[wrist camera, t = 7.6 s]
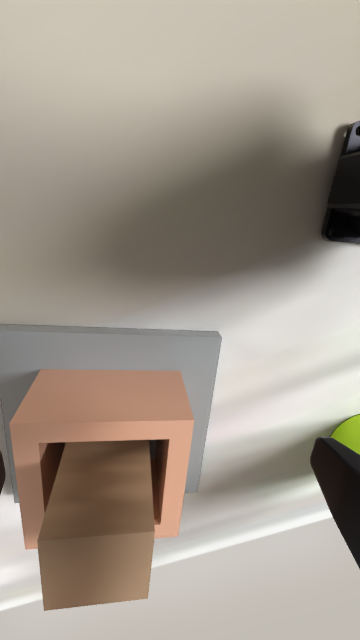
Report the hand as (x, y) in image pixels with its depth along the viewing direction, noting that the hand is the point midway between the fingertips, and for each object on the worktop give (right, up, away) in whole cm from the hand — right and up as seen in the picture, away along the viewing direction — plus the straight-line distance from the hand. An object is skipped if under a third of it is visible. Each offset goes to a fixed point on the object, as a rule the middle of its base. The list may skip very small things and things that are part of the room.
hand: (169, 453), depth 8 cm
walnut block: (-4, -4, +12) cm, 14 cm away
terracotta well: (-5, -3, +13) cm, 14 cm away
